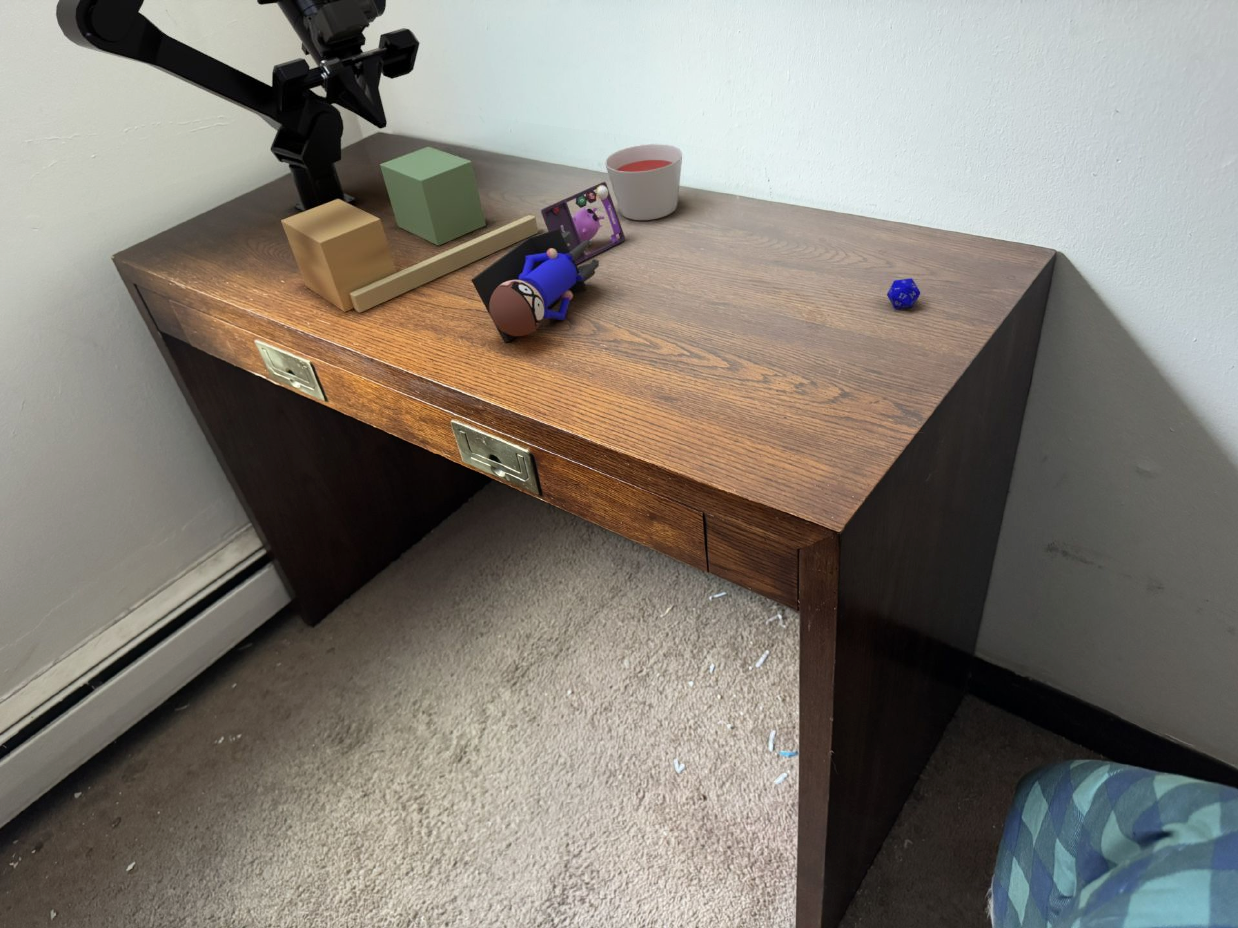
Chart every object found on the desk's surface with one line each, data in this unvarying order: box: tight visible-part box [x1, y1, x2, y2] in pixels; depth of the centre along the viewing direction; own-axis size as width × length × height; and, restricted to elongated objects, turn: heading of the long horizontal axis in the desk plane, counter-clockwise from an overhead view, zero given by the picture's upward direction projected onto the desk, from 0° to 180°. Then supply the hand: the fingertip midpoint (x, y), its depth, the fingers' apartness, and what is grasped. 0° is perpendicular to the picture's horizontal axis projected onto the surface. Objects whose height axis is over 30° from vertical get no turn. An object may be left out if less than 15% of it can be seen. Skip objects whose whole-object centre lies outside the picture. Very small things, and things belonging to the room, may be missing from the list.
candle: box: [604, 143, 683, 221], centre depth 103 cm, size 9×9×6 cm
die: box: [886, 277, 921, 310], centre depth 79 cm, size 3×3×3 cm
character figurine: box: [470, 229, 600, 343], centre depth 84 cm, size 8×7×15 cm
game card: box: [540, 181, 626, 265], centre depth 97 cm, size 7×5×9 cm
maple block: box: [280, 199, 397, 313], centre depth 95 cm, size 10×7×8 cm
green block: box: [379, 146, 487, 247], centre depth 106 cm, size 10×7×8 cm
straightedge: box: [350, 214, 539, 314], centre depth 98 cm, size 1×24×2 cm, turn 131°
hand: (383, 126), depth 107 cm, fingers closed
